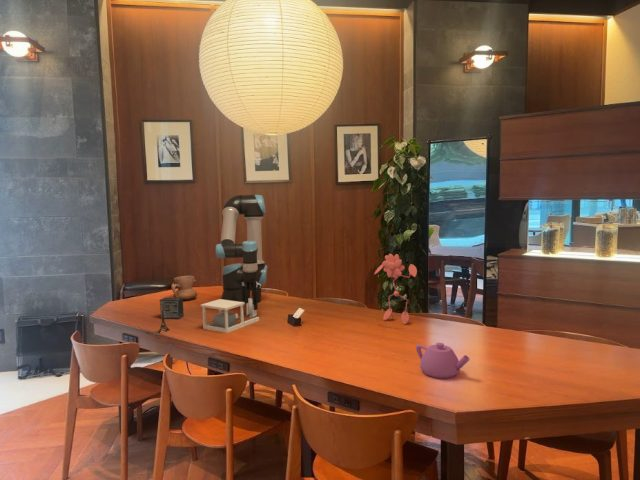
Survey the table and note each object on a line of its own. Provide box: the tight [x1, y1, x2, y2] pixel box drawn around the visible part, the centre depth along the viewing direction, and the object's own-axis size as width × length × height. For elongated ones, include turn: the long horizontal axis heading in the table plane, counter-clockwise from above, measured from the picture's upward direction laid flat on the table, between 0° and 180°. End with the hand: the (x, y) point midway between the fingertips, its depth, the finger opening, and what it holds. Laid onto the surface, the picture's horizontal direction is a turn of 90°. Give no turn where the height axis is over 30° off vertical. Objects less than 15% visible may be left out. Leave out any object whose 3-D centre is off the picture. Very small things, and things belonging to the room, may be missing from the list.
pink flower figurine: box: [373, 253, 418, 330], centre depth 227 cm, size 15×26×35 cm, turn 45°
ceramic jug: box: [171, 275, 198, 302], centre depth 291 cm, size 18×14×14 cm
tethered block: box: [212, 297, 256, 328], centre depth 232 cm, size 26×7×10 cm, turn 149°
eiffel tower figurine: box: [144, 308, 171, 336], centre depth 221 cm, size 15×10×13 cm
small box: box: [159, 297, 184, 320], centre depth 248 cm, size 11×6×10 cm, turn 84°
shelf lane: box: [200, 298, 260, 334], centre depth 228 cm, size 24×16×13 cm, turn 149°
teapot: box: [415, 342, 471, 379], centre depth 165 cm, size 14×20×11 cm
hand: (251, 315), depth 242 cm, fingers closed on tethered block, 3 cm apart
